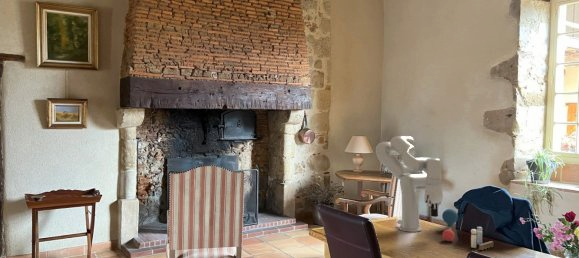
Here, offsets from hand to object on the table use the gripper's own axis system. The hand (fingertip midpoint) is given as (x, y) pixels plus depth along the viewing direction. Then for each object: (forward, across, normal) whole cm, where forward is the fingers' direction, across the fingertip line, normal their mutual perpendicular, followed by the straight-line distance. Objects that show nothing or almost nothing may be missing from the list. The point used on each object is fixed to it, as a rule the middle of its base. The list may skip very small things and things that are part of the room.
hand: (434, 216), depth 237 cm
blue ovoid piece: (+12, -21, -5) cm, 25 cm away
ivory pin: (+12, 0, +22) cm, 25 cm away
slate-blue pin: (+12, -7, +21) cm, 25 cm away
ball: (+9, 0, +8) cm, 12 cm away
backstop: (+12, -3, +27) cm, 30 cm away
